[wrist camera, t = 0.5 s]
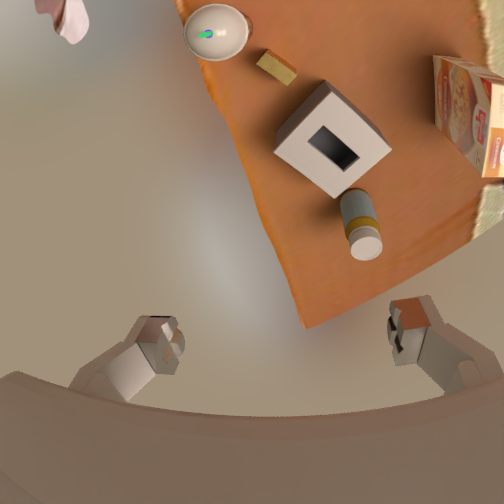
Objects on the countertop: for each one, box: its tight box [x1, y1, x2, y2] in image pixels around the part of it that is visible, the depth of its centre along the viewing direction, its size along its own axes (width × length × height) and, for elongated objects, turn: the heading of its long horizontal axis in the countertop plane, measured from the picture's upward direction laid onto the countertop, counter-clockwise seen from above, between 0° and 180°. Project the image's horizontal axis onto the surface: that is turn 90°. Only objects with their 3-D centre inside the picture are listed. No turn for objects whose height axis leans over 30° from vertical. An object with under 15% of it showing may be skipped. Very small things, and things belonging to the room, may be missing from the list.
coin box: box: [273, 80, 392, 199], centre depth 47 cm, size 14×14×9 cm
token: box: [256, 49, 297, 86], centre depth 40 cm, size 2×6×6 cm, turn 54°
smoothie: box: [183, 3, 253, 61], centre depth 31 cm, size 8×8×20 cm
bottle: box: [340, 189, 382, 260], centre depth 56 cm, size 7×7×15 cm
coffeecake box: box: [433, 55, 504, 177], centre depth 32 cm, size 15×7×20 cm, turn 14°
